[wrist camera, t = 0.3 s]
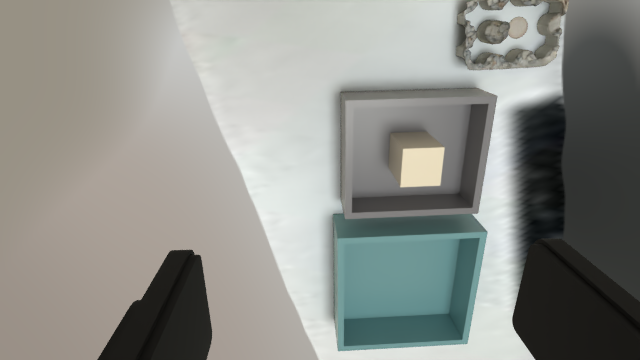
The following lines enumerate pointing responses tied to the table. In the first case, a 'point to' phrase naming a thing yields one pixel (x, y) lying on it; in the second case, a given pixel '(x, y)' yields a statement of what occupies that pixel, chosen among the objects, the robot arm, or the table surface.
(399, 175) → the stone block
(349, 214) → the bin
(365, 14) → the table surface
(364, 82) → the table surface
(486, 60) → the egg carton
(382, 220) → the bin
